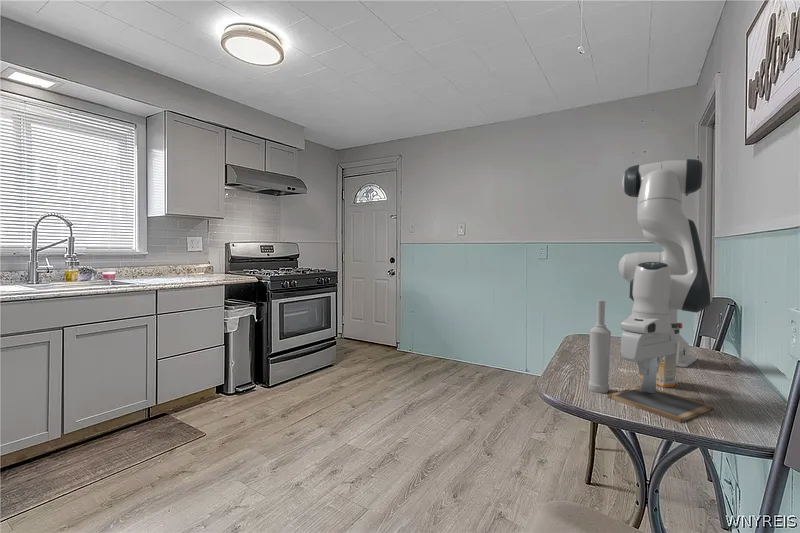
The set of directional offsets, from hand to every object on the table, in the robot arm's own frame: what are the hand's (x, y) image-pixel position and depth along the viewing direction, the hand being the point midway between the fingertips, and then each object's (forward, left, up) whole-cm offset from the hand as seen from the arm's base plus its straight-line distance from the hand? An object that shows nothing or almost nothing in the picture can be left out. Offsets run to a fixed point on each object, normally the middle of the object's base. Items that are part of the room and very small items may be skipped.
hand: (648, 373), depth 104 cm
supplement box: (-13, -5, -6) cm, 15 cm away
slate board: (+4, +4, -6) cm, 8 cm away
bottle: (+8, -9, -6) cm, 14 cm away
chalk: (0, 0, -5) cm, 5 cm away
